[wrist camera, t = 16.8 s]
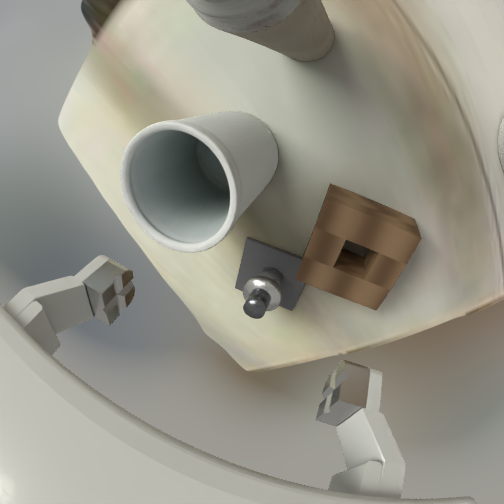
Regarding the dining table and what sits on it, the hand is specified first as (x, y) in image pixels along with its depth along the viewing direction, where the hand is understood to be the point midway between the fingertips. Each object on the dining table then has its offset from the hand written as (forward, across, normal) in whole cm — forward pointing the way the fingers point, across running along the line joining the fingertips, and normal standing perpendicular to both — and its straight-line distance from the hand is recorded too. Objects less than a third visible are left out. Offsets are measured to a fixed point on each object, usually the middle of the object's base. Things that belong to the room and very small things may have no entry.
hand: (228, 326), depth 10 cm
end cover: (+34, +2, +26) cm, 42 cm away
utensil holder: (+34, +13, +6) cm, 37 cm away
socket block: (+34, -9, +13) cm, 38 cm away
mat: (+34, +2, +26) cm, 43 cm away
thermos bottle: (+34, +7, -14) cm, 38 cm away
